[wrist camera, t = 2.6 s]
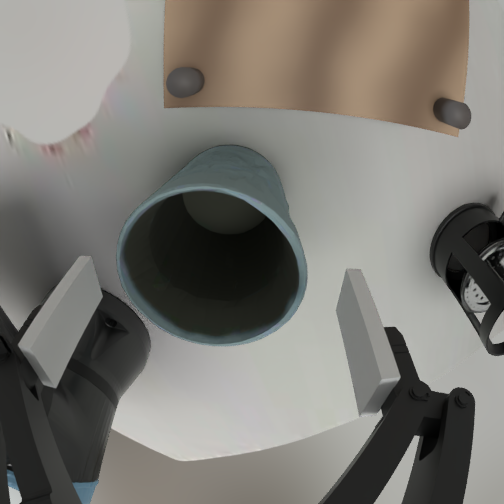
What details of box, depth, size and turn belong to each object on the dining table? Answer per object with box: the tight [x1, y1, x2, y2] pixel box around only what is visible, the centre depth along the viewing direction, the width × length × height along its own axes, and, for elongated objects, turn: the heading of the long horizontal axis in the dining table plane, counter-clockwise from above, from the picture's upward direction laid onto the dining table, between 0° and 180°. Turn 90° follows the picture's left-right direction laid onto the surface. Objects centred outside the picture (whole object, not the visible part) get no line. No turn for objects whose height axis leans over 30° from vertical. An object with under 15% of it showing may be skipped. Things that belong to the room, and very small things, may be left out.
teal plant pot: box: [116, 145, 307, 346], centre depth 21 cm, size 10×10×12 cm
